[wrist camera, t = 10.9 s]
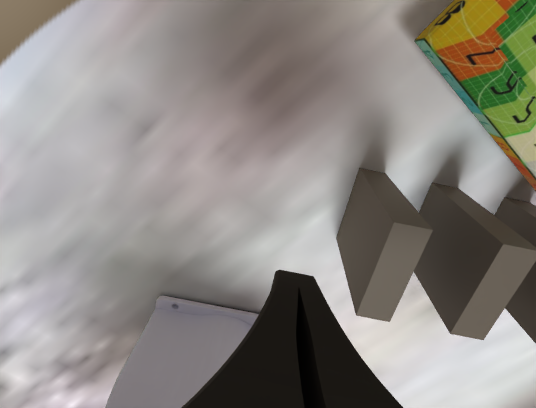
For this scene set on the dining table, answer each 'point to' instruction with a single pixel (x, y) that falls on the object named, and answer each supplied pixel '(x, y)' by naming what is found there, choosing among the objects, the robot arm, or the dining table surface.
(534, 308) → the domino
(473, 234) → the domino
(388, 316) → the domino
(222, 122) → the dining table surface
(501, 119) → the puzzle game
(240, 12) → the dining table surface
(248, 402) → the robot arm
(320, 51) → the dining table surface
